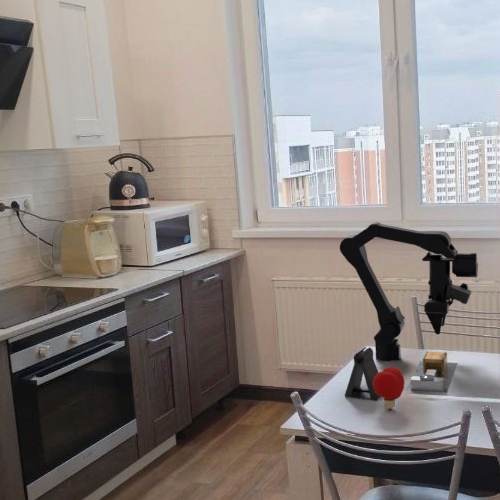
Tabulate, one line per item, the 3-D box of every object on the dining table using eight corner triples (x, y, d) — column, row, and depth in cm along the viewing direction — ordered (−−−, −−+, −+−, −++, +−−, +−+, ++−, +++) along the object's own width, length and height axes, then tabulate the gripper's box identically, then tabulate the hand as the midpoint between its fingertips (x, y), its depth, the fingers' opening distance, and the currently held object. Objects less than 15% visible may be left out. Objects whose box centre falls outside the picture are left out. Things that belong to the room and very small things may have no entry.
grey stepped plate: (405, 392, 193) (405, 377, 193) (420, 363, 216) (419, 350, 216) (447, 395, 190) (446, 380, 189) (457, 365, 212) (457, 351, 212)
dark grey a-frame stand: (386, 393, 194) (384, 348, 192) (377, 401, 189) (375, 355, 187) (353, 389, 199) (351, 345, 197) (344, 396, 193) (342, 351, 192)
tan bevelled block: (423, 372, 206) (422, 358, 205) (427, 365, 212) (426, 351, 212) (444, 373, 204) (443, 359, 203) (447, 366, 210) (446, 352, 209)
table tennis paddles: (386, 401, 188) (384, 362, 187) (411, 406, 184) (410, 366, 182) (367, 413, 181) (365, 373, 180) (393, 418, 177) (391, 377, 175)
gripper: (466, 284, 200) (466, 340, 203) (472, 271, 217) (472, 323, 220) (423, 282, 204) (424, 338, 207) (433, 270, 221) (433, 321, 224)
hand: (439, 329), depth 214 cm, fingers open, 9 cm apart
